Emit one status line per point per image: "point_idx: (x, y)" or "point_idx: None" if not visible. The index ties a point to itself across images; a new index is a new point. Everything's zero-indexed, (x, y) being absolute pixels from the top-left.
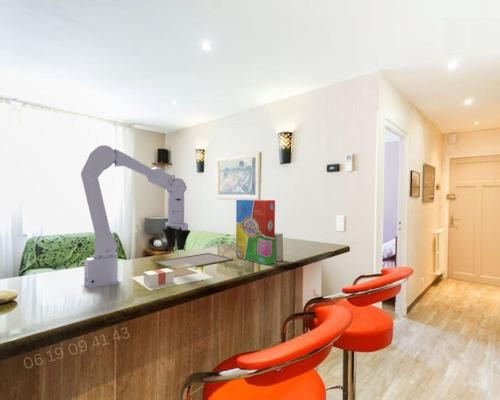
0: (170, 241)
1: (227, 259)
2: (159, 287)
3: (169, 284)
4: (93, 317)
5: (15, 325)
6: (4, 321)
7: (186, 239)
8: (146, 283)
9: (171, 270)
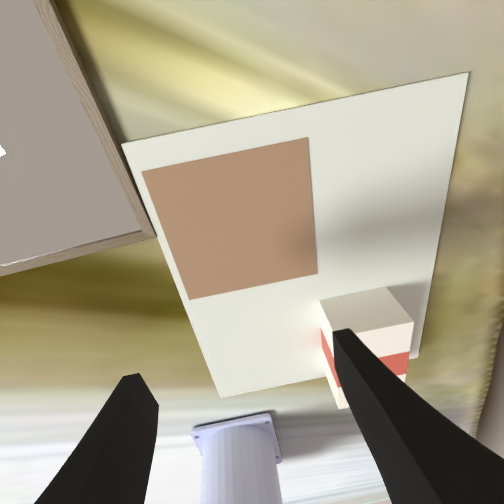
0: (139, 460)
1: None
2: None
3: (403, 304)
4: (474, 430)
5: None
6: (382, 500)
7: (436, 411)
8: None
9: (396, 328)
